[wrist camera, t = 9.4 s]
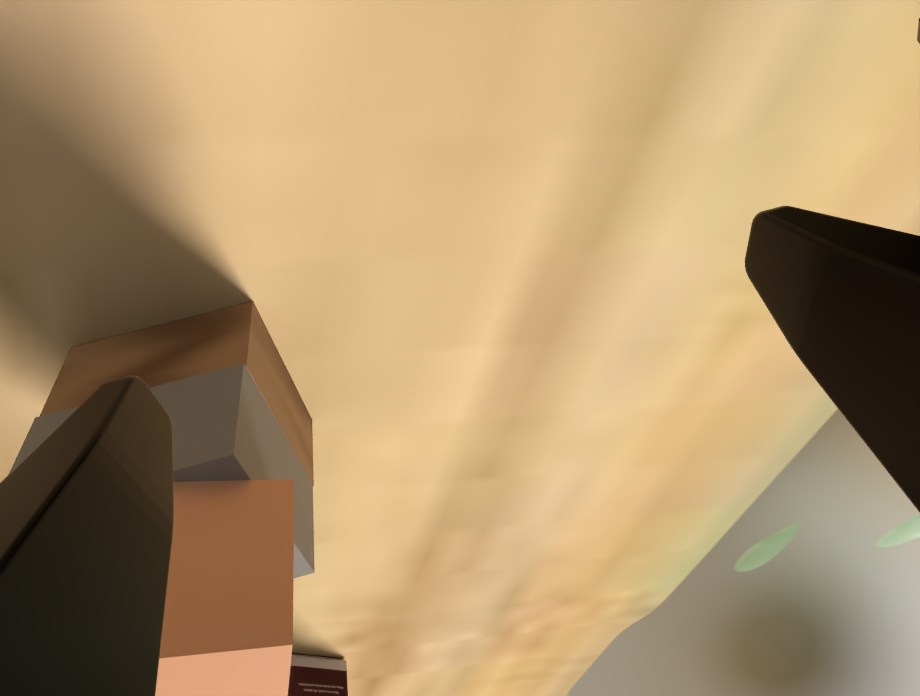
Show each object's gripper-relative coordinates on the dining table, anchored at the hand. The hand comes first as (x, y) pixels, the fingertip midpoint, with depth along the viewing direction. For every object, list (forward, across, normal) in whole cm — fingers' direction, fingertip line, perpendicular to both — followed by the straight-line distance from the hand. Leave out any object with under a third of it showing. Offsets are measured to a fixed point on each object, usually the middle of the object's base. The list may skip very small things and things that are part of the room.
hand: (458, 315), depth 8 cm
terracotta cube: (+5, +9, +10) cm, 14 cm away
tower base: (+13, +10, +11) cm, 20 cm away
